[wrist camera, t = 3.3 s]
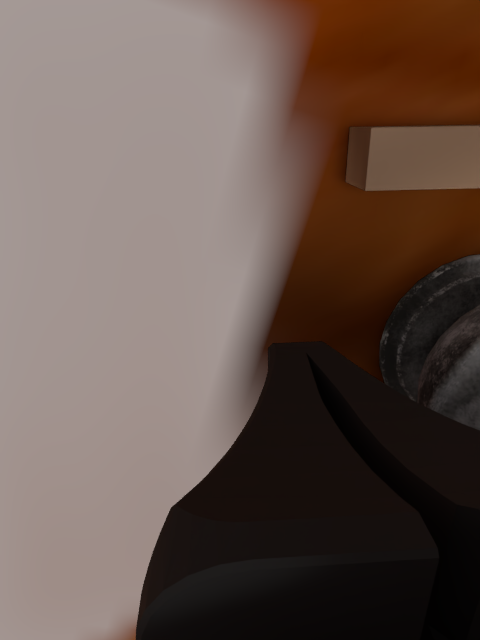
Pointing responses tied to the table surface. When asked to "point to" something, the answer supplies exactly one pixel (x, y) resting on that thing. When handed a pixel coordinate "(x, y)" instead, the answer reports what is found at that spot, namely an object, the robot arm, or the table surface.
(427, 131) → the guide channel
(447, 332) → the grey stone finial
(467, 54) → the table surface
